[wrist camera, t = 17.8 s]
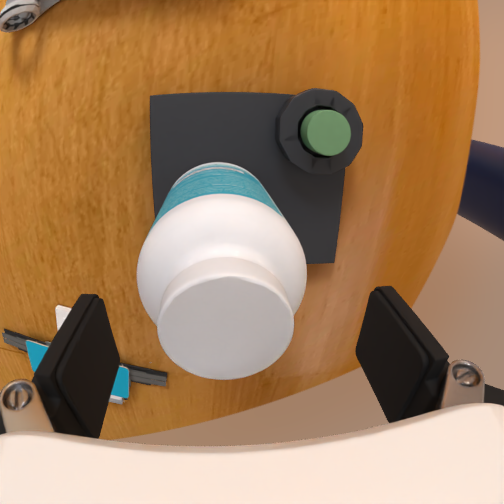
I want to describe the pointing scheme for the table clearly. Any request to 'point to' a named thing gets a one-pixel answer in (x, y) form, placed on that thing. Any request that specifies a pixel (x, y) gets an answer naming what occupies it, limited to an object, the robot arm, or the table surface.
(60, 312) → the blue paper trimmer
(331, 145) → the button
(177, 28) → the table surface
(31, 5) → the car model
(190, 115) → the scale
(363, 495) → the robot arm
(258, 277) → the pill bottle
